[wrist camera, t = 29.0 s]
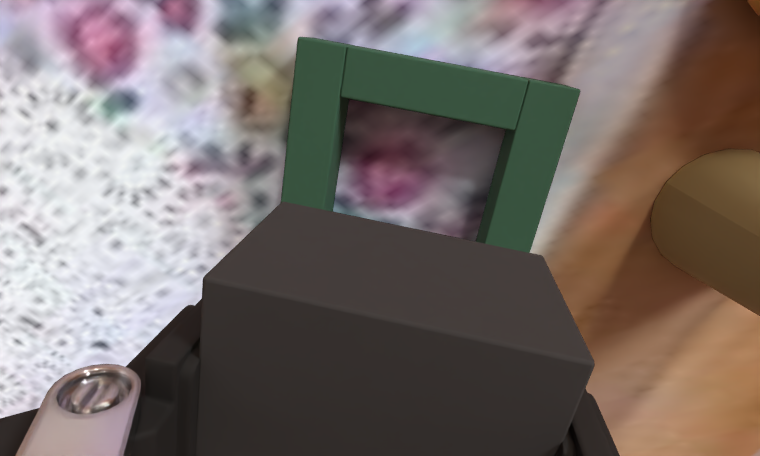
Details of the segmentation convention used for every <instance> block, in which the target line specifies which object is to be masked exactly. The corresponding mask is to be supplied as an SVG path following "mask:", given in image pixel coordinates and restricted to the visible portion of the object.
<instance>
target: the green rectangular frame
mask: <svg viewBox="0 0 760 456" xmlns="http://www.w3.org/2000/svg"><path fill="white" fill-rule="evenodd" d="M579 94H580V90H579V89H576V88H573V87H570V86H566V85H562V84H557V83H551V82H546V81H541V80H535V79H530V78H525V77H519V76H514V75H509V74H503V73H498V72H493V71H487V70H482V69H477V68H471V67H466V66H461V65H456V64H450V63H445V62H440V61H434V60H429V59H424V58H418V57H413V56H408V55H402V54H397V53H392V52H386V51H381V50H376V49H370V48H365V47H360V46H354V45H349V44H344V43H339V42H333V41H328V40H323V39H317V38H309V37H299V38H298V41H297V51H296V61H295V70H294V80H293V90H292V99H291V109H290V119H289V128H288V138H287V148H286V157H285V167H284V176H283V186H282V196H281V203H282V202H288V203H293V204H298V205H303V206H308V207H312V208H317V209H322V210H327V211H331V212H333V205H334V199H335V192H336V185H337V178H338V171H339V164H340V157H341V151H342V144H343V137H344V130H345V123H346V116H347V110H348V103H349V99H352V100H357V101H362V102H367V103H373V104H378V105H383V106H388V107H393V108H398V109H404V110H409V111H414V112H419V113H424V114H429V115H435V116H440V117H445V118H450V119H455V120H460V121H466V122H471V123H476V124H481V125H486V126H491V127H497V128H502V129H506V130H505V134H504V138H503V141H502V145H501V149H500V153H499V156H498V160H497V164H496V168H495V171H494V175H493V179H492V183H491V186H490V190H489V194H488V197H487V201H486V205H485V209H484V212H483V216H482V220H481V224H480V227H479V231H478V235H477V239H476V242H480V243H484V244H489V245H494V246H499V247H503V248H508V249H513V250H518V251H523V252H527V253H530V250H531V247H532V243H533V240H534V237H535V234H536V231H537V228H538V224H539V221H540V218H541V215H542V212H543V208H544V205H545V202H546V199H547V196H548V193H549V189H550V186H551V183H552V180H553V177H554V174H555V170H556V167H557V164H558V161H559V158H560V155H561V151H562V148H563V145H564V142H565V139H566V135H567V132H568V129H569V126H570V123H571V120H572V116H573V113H574V110H575V107H576V104H577V101H578V97H579Z"/></svg>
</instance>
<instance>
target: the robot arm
mask: <svg viewBox="0 0 760 456" xmlns="http://www.w3.org/2000/svg"><path fill="white" fill-rule="evenodd" d="M201 308H202V299H201V300H200V301H199V302H198V303H197V304H196V305H195V306H194V305H188V306H186V307H185V308H184V309H183V310H182V311H181V312H180V313H179V314H178V315H177V316H176V317H175V318H174V319H173V320H172V321H171V322H170V323H169V324H168V325H167V326H166V327H165V328H164V329H163V330H162V331H161V332H160V333H159V334H158V335H157V336H156V337H155V338H154V339H153V340H152V341H151V342H150V343H149V344H148V345H147V346H146V347H145V348H144V349H143V350H142V351H141V352H140V353H139V354H138V355H137V356H136V357H135V358H134V359H133V360H132V361H131V362H130V363H129V364H128V365H127V366H126V367H124V366H120V365H114V364H100V365H91V366H88V367H84V368H80V369H77V370H75V371H73V372H71V373H69V374H67V375H65V376H63V377H62V378H61V379H59V380H58V381H57V382H55V383H54V384H53V386H52V387H51V388H50V389H49V391H48V392H47V394H46V396H45V398H44V400H43V402H42V404H41V406H40V408H38V409H34V410H30V411H27V412H23V413H19V414H16V415H12V416H8V417H5V418H1V419H0V456H195V452H196V431H197V411H198V391H199V371H200V359H199V349H200V329H201ZM556 456H620V455H619V453H618V451H617V448H616V446H615V444H614V442H613V439H612V437H611V435H610V432H609V430H608V428H607V426H606V423H605V421H604V419H603V416H602V414H601V412H600V410H599V407H598V405H597V403H596V400H595V399H594V397H593V396H592V395H591V394H589V393H587V391H586V389H585V390H584V393H583V395H582V397H581V400H580V402H579V405H578V407H577V410H576V412H575V415H574V417H573V419H572V422H571V424H570V427H569V429H568V432H567V434H566V436H565V439H564V441H563V442H562V443H561V445H560V448H559V450H558V453H557V455H556Z"/></svg>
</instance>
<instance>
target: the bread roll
mask: <svg viewBox="0 0 760 456" xmlns="http://www.w3.org/2000/svg"><path fill="white" fill-rule="evenodd" d="M747 2H748V3H749V4H750V6H751V7H752V8H753V10H754V11H755V12H756V14H757V15H759V16H760V0H747Z"/></svg>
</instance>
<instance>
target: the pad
mask: <svg viewBox="0 0 760 456" xmlns="http://www.w3.org/2000/svg"><path fill="white" fill-rule="evenodd" d="M199 359H200V371H199V391H198V411H197V431H196V452H195V456H556V455H557V453H558V450H559V448H560V445H561V443H562V442H563V441H564V439H565V436H566V434H567V432H568V429H569V427H570V424H571V422H572V419H573V417H574V415H575V412H576V410H577V407H578V405H579V402H580V400H581V397H582V395H583V393H584V390H585V388H586V385H587V383H588V380H589V378H590V376H591V373H592V371H593V368H594V365H595V364H594V360H593V358H592V356H591V354H590V352H589V350H588V348H587V345H586V343H585V341H584V339H583V337H582V335H581V333H580V331H579V329H578V327H577V325H576V323H575V321H574V319H573V317H572V315H571V313H570V311H569V309H568V307H567V305H566V303H565V301H564V299H563V297H562V294H561V292H560V290H559V288H558V286H557V284H556V282H555V280H554V278H553V276H552V274H551V272H550V270H549V268H548V266H547V264H546V262H545V260H544V258H543V256H541V255H537V254H532V253H527V252H523V251H518V250H513V249H508V248H503V247H499V246H494V245H489V244H484V243H480V242H475V241H470V240H465V239H460V238H456V237H451V236H446V235H441V234H437V233H432V232H427V231H422V230H417V229H413V228H408V227H403V226H398V225H394V224H389V223H384V222H379V221H374V220H370V219H365V218H360V217H355V216H351V215H346V214H341V213H336V212H331V211H327V210H322V209H317V208H312V207H308V206H303V205H298V204H293V203H288V202H282V203H280V204H279V205H278V206H277V207H276V208H275V209H274V210H273V211H272V212H271V213H270V214H269V215H268V216H267V217H266V218H265V219H264V220H263V221H262V222H261V223H260V224H259V225H258V226H256V227H255V228H254V229H253V230H252V231H251V232H250V233H249V234H248V235H247V236H246V237H245V238H244V239H243V240H242V241H241V242H240V243H239V244H238V245H237V246H236V247H235V248H233V249H232V250H231V251H230V252H229V253H228V254H227V255H226V256H225V257H224V258H223V259H222V260H221V261H220V262H219V263H218V264H217V265H216V266H215V267H214V268H213V269H212V270H211V271H209V272H208V273H207V274H206V275H205V276H204V278H203V288H202V308H201V329H200V349H199Z"/></svg>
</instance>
